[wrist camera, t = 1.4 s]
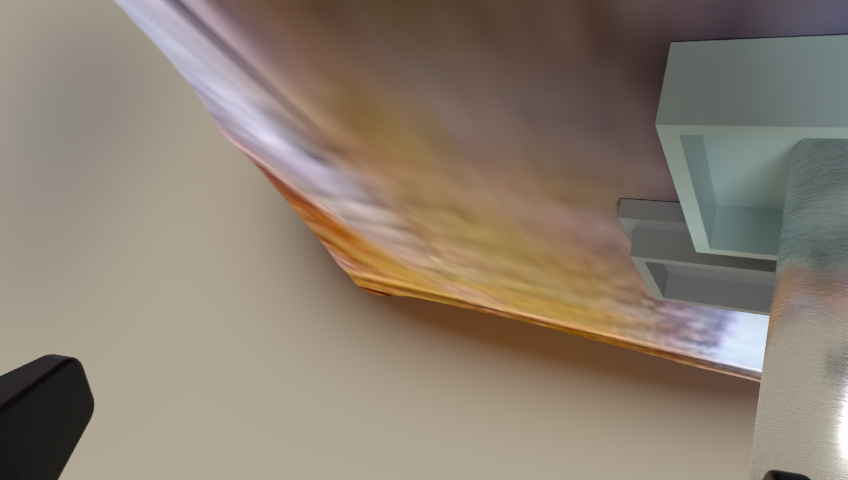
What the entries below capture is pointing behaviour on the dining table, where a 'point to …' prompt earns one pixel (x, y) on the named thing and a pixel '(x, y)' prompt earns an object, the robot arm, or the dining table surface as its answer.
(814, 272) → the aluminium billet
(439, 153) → the dining table surface
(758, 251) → the tote
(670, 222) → the tray
